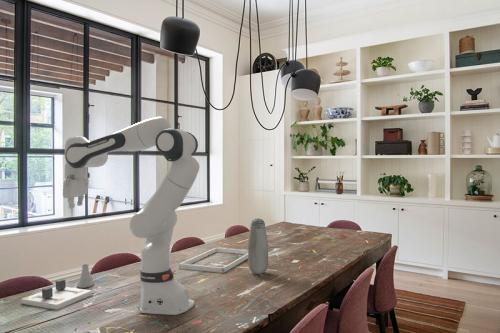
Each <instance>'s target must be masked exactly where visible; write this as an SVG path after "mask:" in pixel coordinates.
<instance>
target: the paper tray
mask: <svg viewBox="0 0 500 333" xmlns="http://www.w3.org/2000/svg"><path fill="white" fill-rule="evenodd" d="M221 252H222V254H223V253H224V254H234V253H235V255H236V254H237V255H242V256H240V257H239V258H237V259H236V260H233V261H232V262H229V263H228V264H227V265H225V266H223V267H220V266H208V265H201V264H200V265H198V264H193V263H195V262H198V261H199V260H202V259H204V258H206V257H209V256H211V255H213V254H214V253H221ZM208 255H209V256H208ZM245 260H248V249H237V248H236V249H235V248H224V247H223V248H222V247H214V248H211V249H210V250H207V251H205V252H202V253H201V254H198V255H196V256H193V257H191V258H189V259H186V260H184V261H182V262H180V263H178V269H180V270H181V269H182V270H187V271H188V270H190V271H198V272H199V271H200V272H208V273H209V272H210V273H219V274H224V273H226V272H228V271H230V270H231V269H233V268H234V267H236V266H238V265H239V264H241V263H243V262H245Z"/></svg>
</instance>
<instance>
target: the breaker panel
mask: <svg viewBox="0 0 500 333" xmlns="http://www.w3.org/2000/svg"><path fill="white" fill-rule="evenodd" d="M52 289H53V297H50V298H48V299H43V298H42V291H39V292H37V293H35V294H31V295H28V296H26V297H22V298H21V304H22V305H27V306H32V307H38V308H44V309H50V310H54V311H55V310H56V311H57V310H60V309H63V308H64V307H67V306H69V305H72V304H75V303H76V302H77V303H78V302H79V301H81V300H84V299H86V298H88V297H89V298H90V297H91V296H93V290H90V289H84V288H79V287H70V286H66V288H65V289H62V290H56V286H55V287H52Z"/></svg>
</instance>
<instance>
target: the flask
mask: <svg viewBox="0 0 500 333" xmlns="http://www.w3.org/2000/svg"><path fill="white" fill-rule="evenodd" d="M80 266H81V273H80V277H79V279H78V283H77V288H78V289H84V288H90V287H93V286H95V284H94V281H93V279H92V277H91V274H90V271H89V266H90V264H89V263H85V264H81V265H80Z"/></svg>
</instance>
